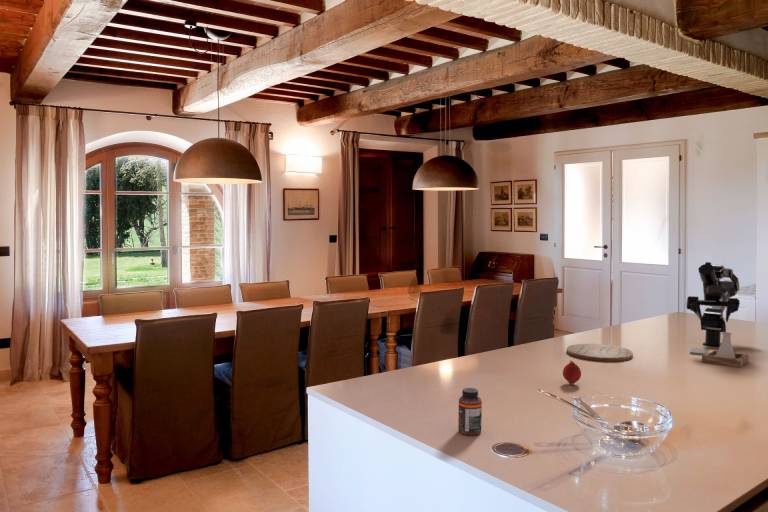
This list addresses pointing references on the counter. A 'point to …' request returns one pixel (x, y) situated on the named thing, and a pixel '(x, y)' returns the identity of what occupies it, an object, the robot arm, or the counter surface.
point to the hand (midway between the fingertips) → (714, 320)
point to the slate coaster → (699, 351)
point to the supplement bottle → (470, 412)
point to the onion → (571, 372)
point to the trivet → (599, 352)
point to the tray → (725, 359)
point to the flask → (726, 347)
